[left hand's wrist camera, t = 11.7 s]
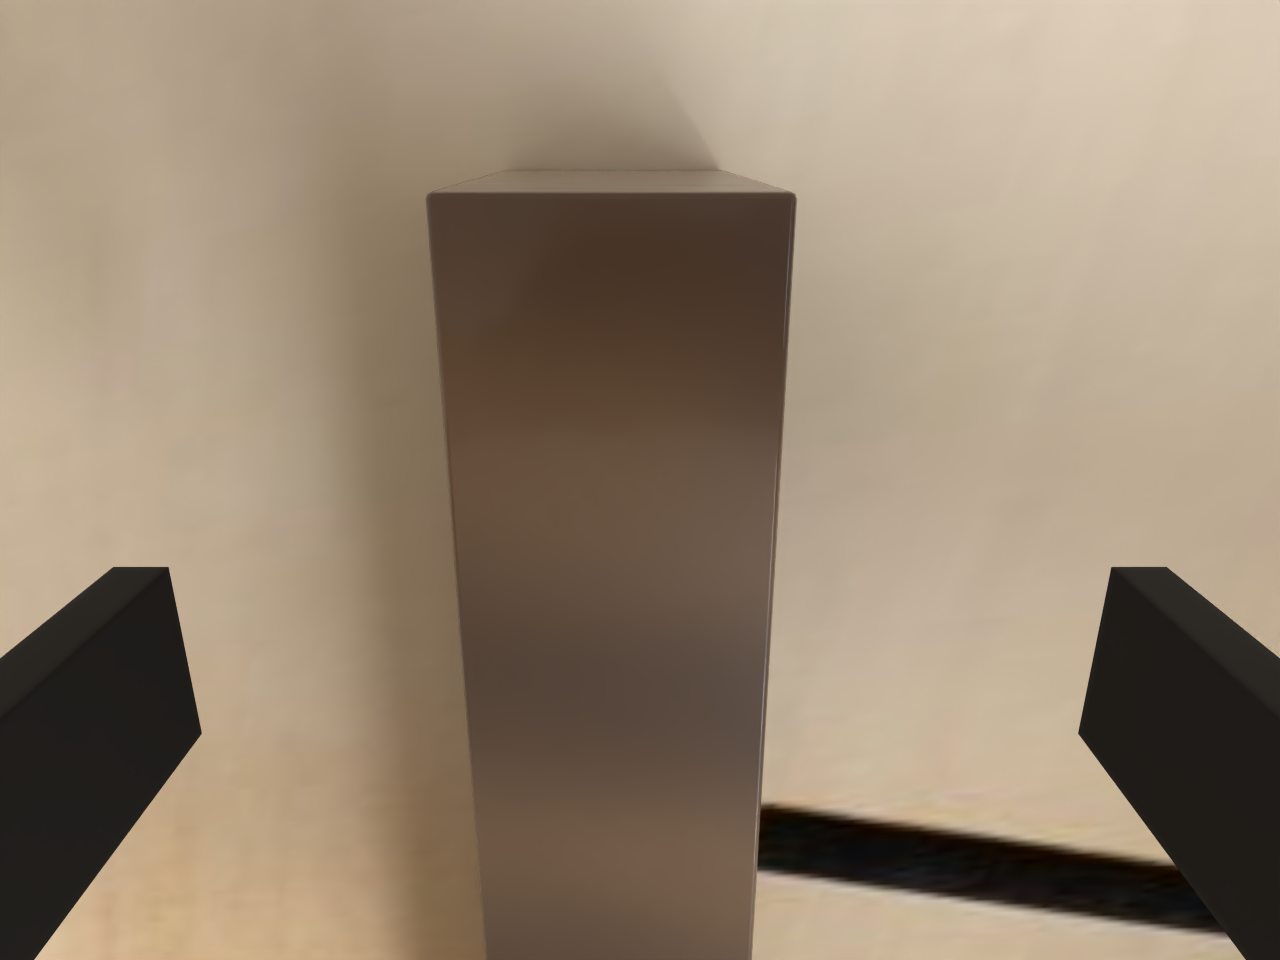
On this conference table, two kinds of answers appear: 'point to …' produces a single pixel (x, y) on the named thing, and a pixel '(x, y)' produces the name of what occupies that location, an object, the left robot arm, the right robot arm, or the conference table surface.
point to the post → (614, 545)
